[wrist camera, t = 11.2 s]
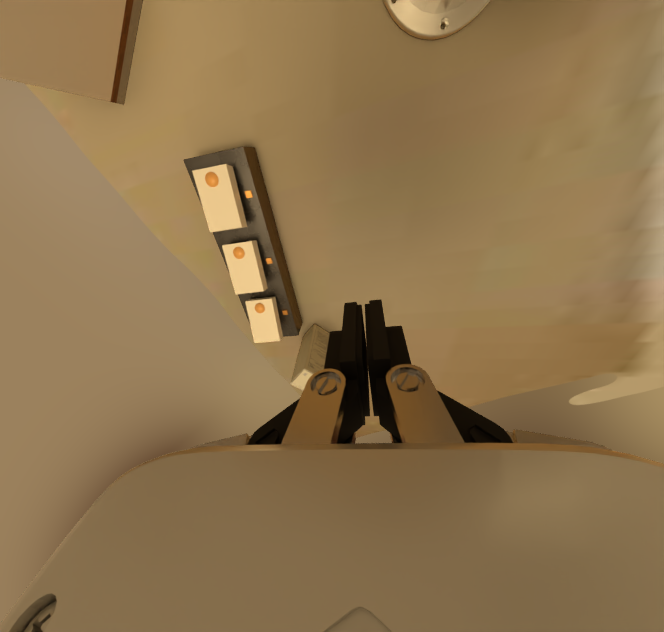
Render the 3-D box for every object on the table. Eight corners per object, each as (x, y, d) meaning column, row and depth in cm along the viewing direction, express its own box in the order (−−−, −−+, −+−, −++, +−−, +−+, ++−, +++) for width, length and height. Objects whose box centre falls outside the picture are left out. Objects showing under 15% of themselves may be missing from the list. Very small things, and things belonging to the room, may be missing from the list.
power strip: (197, 159, 35) (179, 160, 31) (254, 147, 33) (241, 146, 30) (261, 326, 49) (253, 340, 45) (302, 322, 48) (297, 336, 44)
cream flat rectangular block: (227, 244, 36) (221, 245, 34) (256, 240, 35) (251, 241, 34) (240, 291, 38) (235, 294, 37) (267, 288, 38) (263, 291, 36)
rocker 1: (200, 173, 31) (191, 170, 30) (232, 166, 31) (225, 163, 29) (216, 231, 34) (209, 232, 32) (247, 226, 33) (241, 227, 31)
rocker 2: (249, 299, 41) (244, 301, 39) (275, 296, 40) (271, 298, 39) (258, 339, 43) (254, 343, 41) (283, 337, 42) (279, 341, 40)
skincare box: (302, 336, 50) (287, 383, 39) (315, 322, 47) (303, 368, 37) (328, 352, 51) (320, 401, 41) (341, 339, 49) (336, 387, 39)
